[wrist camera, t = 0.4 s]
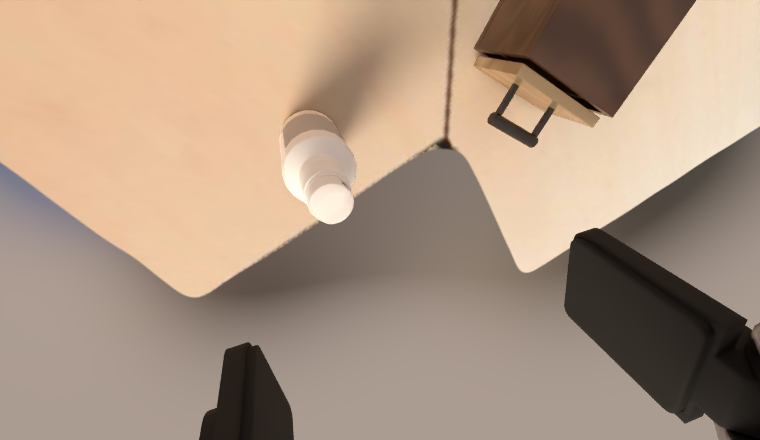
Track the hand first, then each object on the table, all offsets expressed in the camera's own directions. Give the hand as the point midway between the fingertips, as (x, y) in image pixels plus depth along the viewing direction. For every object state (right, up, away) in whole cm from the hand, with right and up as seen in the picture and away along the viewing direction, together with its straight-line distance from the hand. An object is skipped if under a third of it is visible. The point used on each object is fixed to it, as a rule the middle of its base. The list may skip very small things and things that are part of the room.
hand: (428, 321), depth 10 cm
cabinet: (+19, +28, +33) cm, 47 cm away
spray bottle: (-10, +13, +32) cm, 36 cm away
